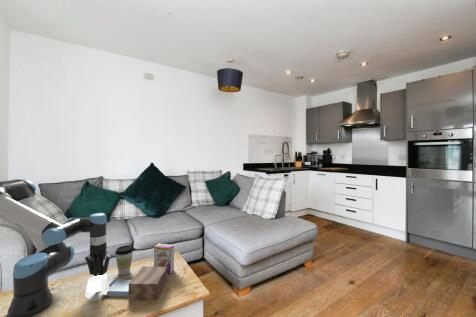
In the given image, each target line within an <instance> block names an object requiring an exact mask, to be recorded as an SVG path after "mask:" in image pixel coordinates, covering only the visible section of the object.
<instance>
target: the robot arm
mask: <svg viewBox="0 0 476 317" xmlns="http://www.w3.org/2000/svg"><path fill="white" fill-rule="evenodd" d="M36 194H37V187H36V185H35V184H34V183H33V182H32V181H31V180H27V179H23V178H21V179H11V180H4V181H0V216H2V217H4V218H6V219H8V220H11V222H14V223H16V224H18V225H19V226H22V228H23V229H24V231H25V233H26V234H27V236H28V237H29V239H30V241H31V242H32V244H33V245H34V247H35V249H36V251H35V253H32V254H29V255H27V256H24V257H23V258H20V259H19V260H18V261H17V262H15V264H14V266H13V271H12V282H13V285H12V286H13V287H12V288H13V290H12V291H13V296H12V299H11V301H10V304H9V307H8V309H7V317H32V316H35V315H37V314H39V313H41V312H43V311H44V310H46V309H47V308H49V306H51V305H52V303H53V300H54V298H53V294H52V292H51V290H50V288H49V277H51V276H52V275H54V274H55V273H57V272H58V271H60V270H61V269H63V268H65V267H66V266H67V265H69V264H70V263H71V262H72V261H73V259H74V257H75V249H74V247H73V245H72V244H71V243H68V242H64V241H66V240H68V239H70V238H72V237H74V236H76V235H78V234H80V233H89V254H87V256H85V257H84V260H85V261H86V264H87V267H88V271H89V275H91V276H93V277H94V276H97V275H103V276H104V275H105V274H106V273H107V272H108V268H109V264H110V259H112V257H113V256H112V254H108V251H107V248H108V247H107V246H108V244H107V235H108V234H107V223H108V221H107V215H106V213H104V212H99V213H98V212H96V213H93V214H90V215H89V217H80V216H79V217H77V216H76V217H70V218H68V219H67V220H66V221H65V222H64V223H60V222H58V221H56V220H54V219H52V218H51V217H48V216H47V215H44V214H43V213H41V211H40V209H39V208H38V206H37V205H36V203H35V200H36Z"/></svg>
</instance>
